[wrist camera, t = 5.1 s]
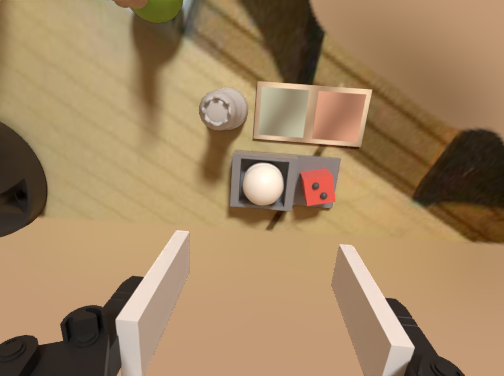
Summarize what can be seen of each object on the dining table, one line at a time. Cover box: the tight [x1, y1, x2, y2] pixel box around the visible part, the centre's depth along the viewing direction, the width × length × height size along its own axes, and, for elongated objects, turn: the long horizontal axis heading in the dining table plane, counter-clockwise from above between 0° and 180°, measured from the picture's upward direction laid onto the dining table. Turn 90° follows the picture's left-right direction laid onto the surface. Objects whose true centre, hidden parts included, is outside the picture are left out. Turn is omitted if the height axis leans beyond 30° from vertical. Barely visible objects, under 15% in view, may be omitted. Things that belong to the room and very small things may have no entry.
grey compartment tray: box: [230, 150, 341, 211], centre depth 30 cm, size 12×6×4 cm, turn 86°
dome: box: [243, 161, 284, 205], centre depth 29 cm, size 4×4×4 cm
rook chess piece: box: [199, 87, 248, 130], centre depth 26 cm, size 4×4×8 cm
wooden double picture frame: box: [253, 81, 372, 147], centre depth 29 cm, size 12×6×1 cm, turn 86°
